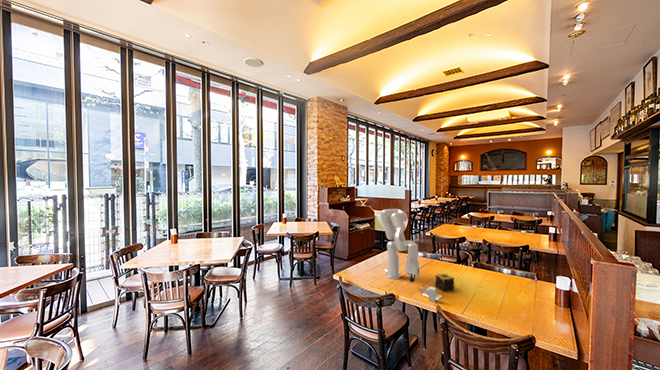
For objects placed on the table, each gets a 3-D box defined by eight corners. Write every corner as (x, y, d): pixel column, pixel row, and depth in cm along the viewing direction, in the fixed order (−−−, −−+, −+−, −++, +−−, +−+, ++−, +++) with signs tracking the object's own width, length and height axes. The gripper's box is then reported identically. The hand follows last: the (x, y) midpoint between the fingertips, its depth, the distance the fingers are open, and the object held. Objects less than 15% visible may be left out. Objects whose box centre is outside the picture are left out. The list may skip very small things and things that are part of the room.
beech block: (420, 287, 196) (432, 291, 190) (423, 286, 199) (434, 289, 192) (420, 292, 196) (432, 296, 190) (423, 291, 199) (434, 294, 193)
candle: (443, 292, 198) (443, 279, 198) (434, 286, 208) (434, 274, 207) (454, 290, 201) (454, 277, 200) (445, 285, 210) (445, 273, 210)
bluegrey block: (428, 301, 184) (428, 288, 184) (429, 298, 188) (429, 286, 187) (434, 302, 182) (434, 289, 182) (435, 300, 185) (435, 287, 185)
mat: (421, 295, 193) (421, 294, 193) (426, 291, 200) (426, 290, 200) (437, 300, 185) (437, 300, 185) (442, 296, 191) (442, 295, 191)
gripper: (401, 257, 205) (401, 280, 206) (419, 262, 195) (418, 286, 196) (406, 255, 211) (406, 277, 212) (424, 260, 200) (423, 283, 201)
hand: (412, 281), depth 204 cm, fingers closed
